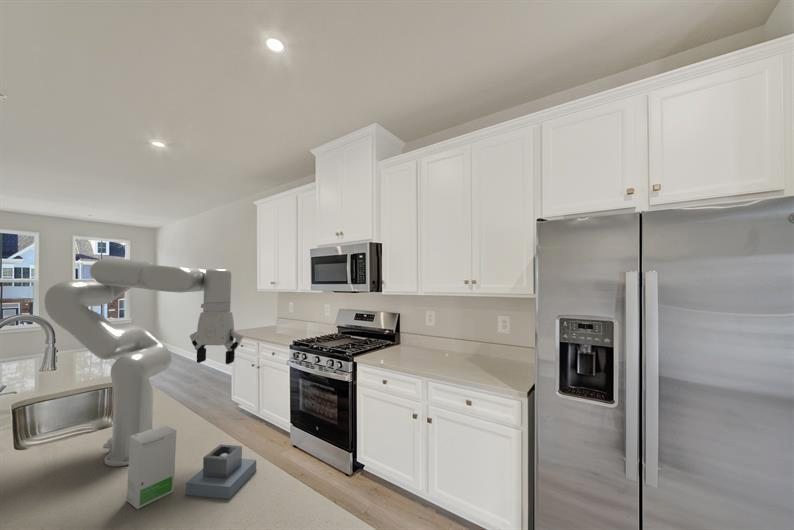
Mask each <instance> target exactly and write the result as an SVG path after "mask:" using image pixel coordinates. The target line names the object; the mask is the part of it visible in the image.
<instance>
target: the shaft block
mask: <svg viewBox="0 0 794 530" xmlns="http://www.w3.org/2000/svg"><path fill="white" fill-rule="evenodd" d="M226 456H228V454H227V453H223V454H221V455H220V457H226ZM256 471H257V459H252V458H251V459H250V458H242V465H241V466H240V467H238V468H237V469H236V470H235V471H234V472H233V473H232V474H231V475H230V476H229V477H228V478H227V479H219V478H209V477H203V468H202V469H201V470H199V471H198V472H196V474H195V475H194V476H192V477H191V478H189V480H187V481H186V482H185V496H192V497H193V496H194V497H203V498H205V497H206V498H213V499H214V498H215V499H223V500H224V499H225V500H230V499H231V498H232V497H233V496H234V495H235V494H236V493H237V492H238V491H239V490H240V489H241V487H242V486H244V484H246V483H247V481H248V480H249V479H250V478H251V477H252V476H253V475H254V474H255V472H256Z"/></svg>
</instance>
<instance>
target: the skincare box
mask: <svg viewBox="0 0 794 530" xmlns="http://www.w3.org/2000/svg"><path fill="white" fill-rule="evenodd" d="M176 446H177V430H176V429H174V428H173V427H170V426H169V425H162V426H159V427H156V428H152V429H150V430H147V431H145V432H142V433H138V434H135V435H132V436H130V450H129V465H128V468H127V486H126V501H127V502H128V503H129V504H131V506H133V507H134V508H135V509H136V510H139V509H141V508H143V507H145V506H147V505H150V504H152V503H153V502H155V501H157V500H159V499H162V498H164V497H166V496H168V495H170V494H172V493H173V492H175V474H176V473H175V469H176V449H177V447H176Z"/></svg>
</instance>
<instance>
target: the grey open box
mask: <svg viewBox="0 0 794 530" xmlns="http://www.w3.org/2000/svg"><path fill="white" fill-rule="evenodd" d="M223 453H227V454H228V456H226V457H220V455H221V454H223ZM202 459H203V465H202V469H203V477H209V478H219V479H227V478H228V477H229V476H230V475H231V474H232V473H233V472H234V471H235V470H236V469H237V468H238V467H240V466H241V465H242V459H243V445H231V444H219V445H218V446H217V447H215V448H214V449H212V450H211V451H210V452H209V453H207V454H206V455H204V456H203V458H202Z"/></svg>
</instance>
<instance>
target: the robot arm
mask: <svg viewBox="0 0 794 530" xmlns="http://www.w3.org/2000/svg"><path fill="white" fill-rule="evenodd" d="M89 275H90V278H91V279H75V280H64V281H61V282H58V283H56V284H54V285H53V284H52V286H50V287H49V288H48V290H47V291H46V293H45V295H44V299H43V300H44V308H45V311H46V313H47V315H48V316H49V318H50V319H51V320H52V321H54V323H55V324H57V325H58V326H59V327H61V328H62V329H64V330H65V331H66V332H67V333H68V334H70V335H72V336H73V337H74V339H76V340H77V341H78V342H79V343H80V344H81V345H83V346H84V347H85V349H87V350H88V351H89V352H90V353H92V354H93V355H94V356H95V357H97V358H98V359H100V360H105V361H107V360H112V359H113V360H114V359H116V358H117V359H116V360H115V361H114V362H113V364H111V368H110V378H111V383H112V388H113V389H112V390H113V414H112V415H113V416H112V417H113V418H112V437H110V438H109V439H108V440H107V441H106V443H104V444H103V445H102V449H106V450H107V449H108V451H109V452H108V453H107V454H106V455H105V457H104V464H105V465H106V466H108V467H123V466H129V450H130V436H132V435H135V434H138V433H142V432H145V431H147V430H150V429H153V415H154V411H153V410H154V390H153V387H152V384H151V383H150V378H151V377H154V376H156V375H159V374H161V373H163V372H164V371H166V370H168V368H169V367H170V365H171V363H172V354H171V352H170V350H169V349H168V347H167V346H165V345H164V344H163V343H162V342H161V341H160V340H159V339H158V338H156V337H155V336H154V335H153V334H151V333H150V332H149V331H148V330H147V329H146V328H144V327H142V326H140V325H137V324H125V325H121V326H119V325H118V326H117V325H114V324H113V323H112V322H111V321H109V320H107V318H106V317H104V316H103V315H102V314H100V313H98V312H96V311H94V310H92V309H89V307H96V306H103V305H104V306H105V305H107V304H109V303H111V302H113V301H114V300H116V299H118V298H120V297H121V296H122V295H123V294H124V293H126V292H128V290H130V289H132V288H134V289H144V290H150V291H158V292H169V293H177V294H178V293H181V294H182V293H191V292H193V293H194V292H203V303H201V304H200V308H202V310H203V311H201V312H200V314H199V318H198V322H197V326H196V327H197V328H196V332H194V333H191V334H190V335H189V338H190V341H191V344H192V346H193V347H194V350H196V364H197V363H198V364H199V363H200V364H201V363H203V362H205V361H206V359H207V348H206V346H224V347H225V348H226V350H227V351H225V364H226V365H230V364H232V363H234V362H235V353H236V351H235V350H236V349H238V347H239V346H240V345H241V342H242V341H243V338H244V336H243V335H241V334H240V333H238V332H236V331H235V321H234V316H233V312H232V311H231V305H232V304H231V303H232V301H231V298H232V297H231V296H232V271H231V270H230V269H226V268H209V269H208V268H207V269H206V268H198V267H180V266H179V267H178V266H170V265H169V266H168V265H167V266H166V265H156V264H155V263H154V262H151V261H141V260H132V259H127V258H114V257H113V258H111V257H107V258H102V259H98V260H96V261H95V262H94V263H93V264H92V265H91V266H90V268H89ZM234 339H235V341H234Z"/></svg>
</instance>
